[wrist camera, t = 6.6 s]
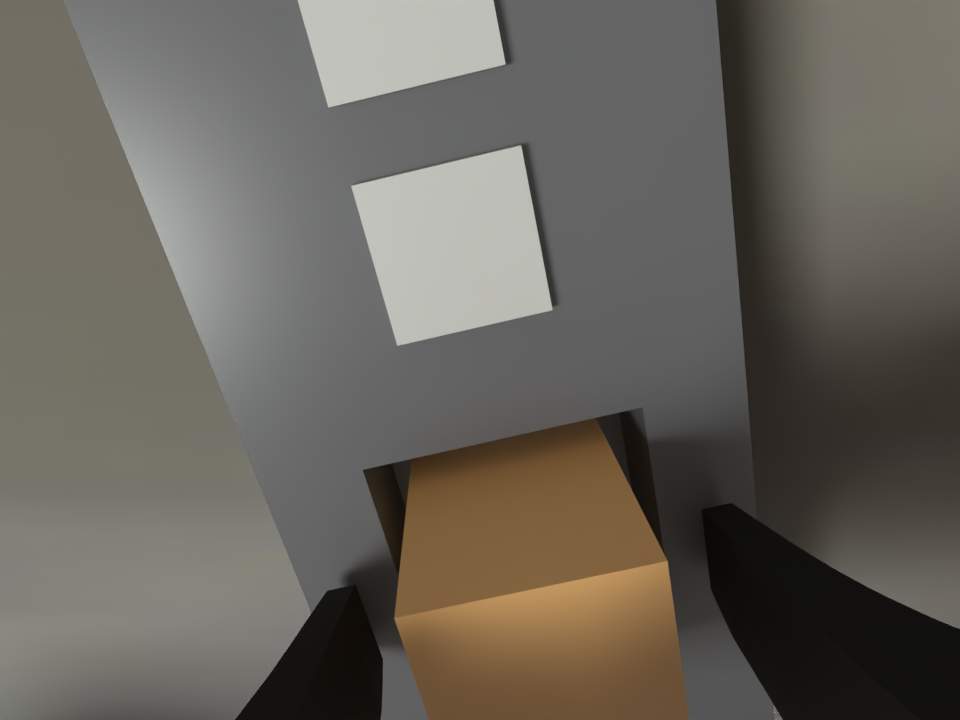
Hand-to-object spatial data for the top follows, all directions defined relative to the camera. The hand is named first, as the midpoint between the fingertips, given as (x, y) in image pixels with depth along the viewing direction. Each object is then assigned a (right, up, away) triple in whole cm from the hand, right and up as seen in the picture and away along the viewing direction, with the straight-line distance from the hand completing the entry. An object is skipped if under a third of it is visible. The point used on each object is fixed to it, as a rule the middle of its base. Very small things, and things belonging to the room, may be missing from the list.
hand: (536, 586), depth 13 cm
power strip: (-1, +5, +2) cm, 5 cm away
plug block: (0, +1, +3) cm, 3 cm away
